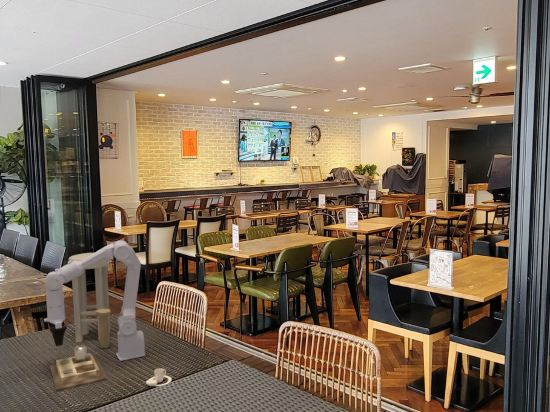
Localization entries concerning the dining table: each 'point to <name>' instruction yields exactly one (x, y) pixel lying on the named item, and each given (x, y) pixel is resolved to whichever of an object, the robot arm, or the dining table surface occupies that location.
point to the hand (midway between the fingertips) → (57, 342)
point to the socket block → (76, 372)
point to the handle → (104, 327)
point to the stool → (81, 296)
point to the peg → (80, 354)
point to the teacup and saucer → (158, 378)
